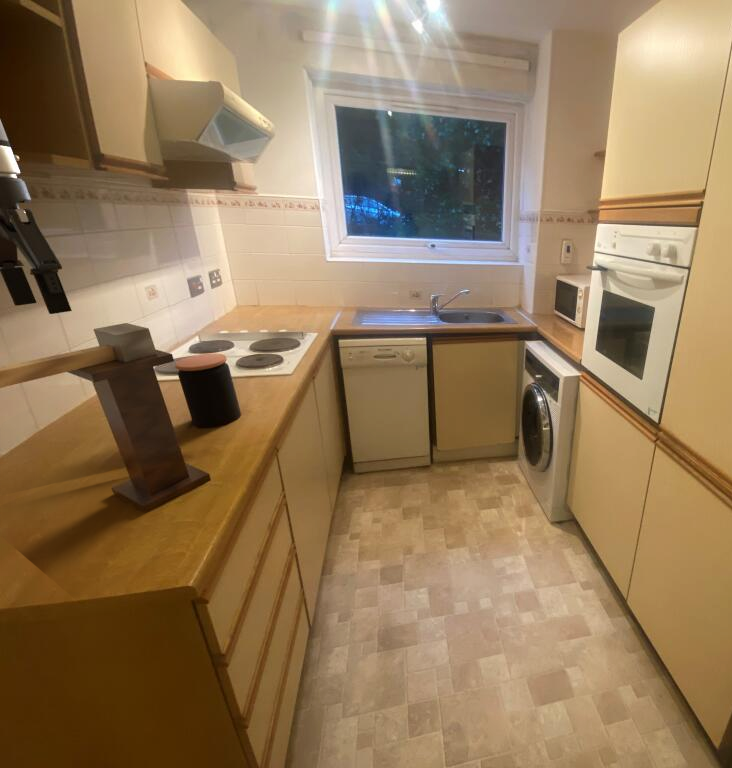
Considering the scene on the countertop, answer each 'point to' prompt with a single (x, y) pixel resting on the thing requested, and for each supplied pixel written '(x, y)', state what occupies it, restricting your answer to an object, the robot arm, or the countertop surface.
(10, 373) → the mallet
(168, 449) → the stand
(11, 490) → the countertop surface
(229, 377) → the coffee jar
